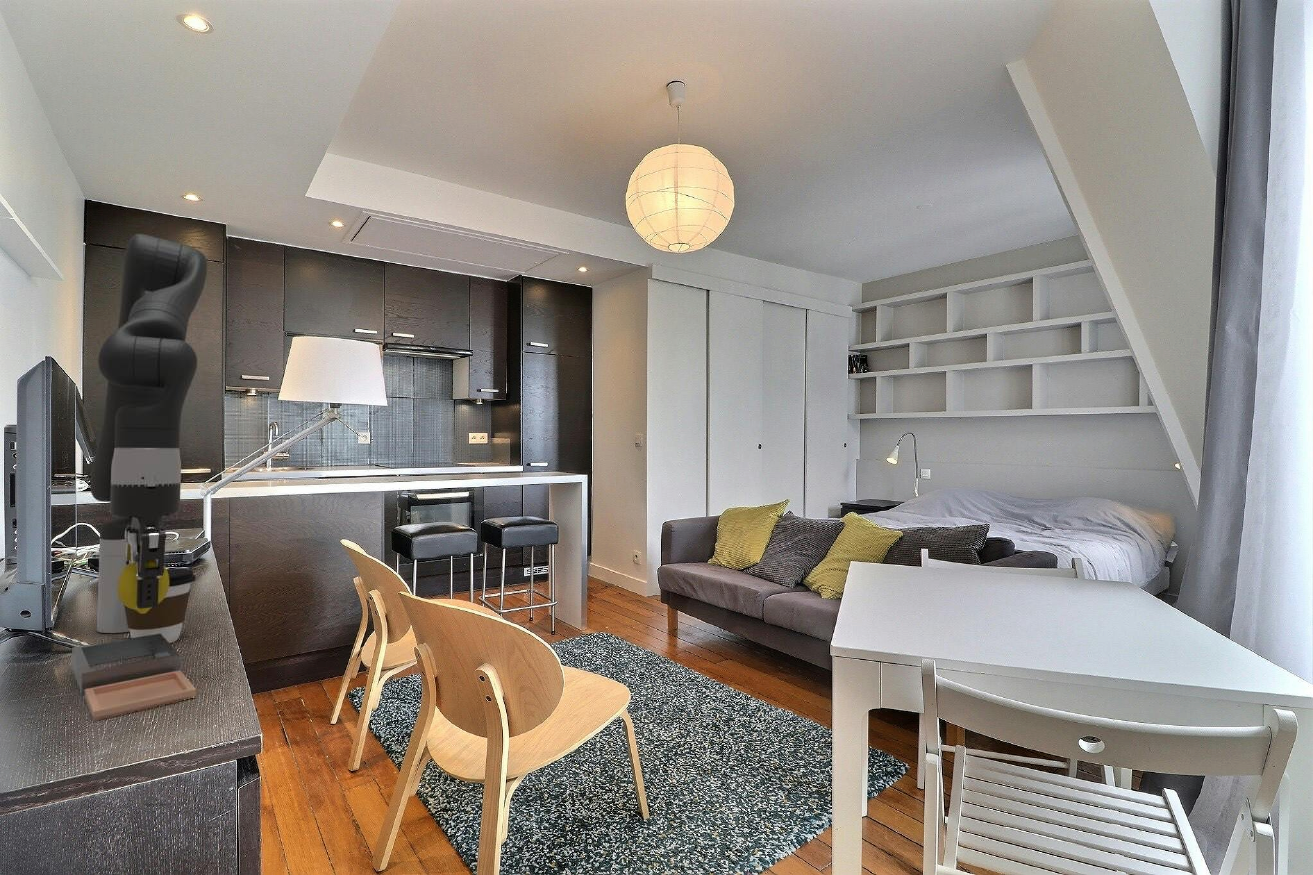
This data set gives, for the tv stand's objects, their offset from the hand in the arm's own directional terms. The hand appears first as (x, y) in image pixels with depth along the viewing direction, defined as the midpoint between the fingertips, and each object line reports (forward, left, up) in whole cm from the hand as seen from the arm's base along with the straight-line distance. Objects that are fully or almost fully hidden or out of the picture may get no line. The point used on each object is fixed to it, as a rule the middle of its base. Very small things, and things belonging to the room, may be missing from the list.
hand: (143, 602), depth 87 cm
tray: (0, 0, -13) cm, 13 cm away
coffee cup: (-30, +6, -13) cm, 33 cm away
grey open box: (-15, 0, -13) cm, 20 cm away
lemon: (0, 0, -2) cm, 2 cm away
